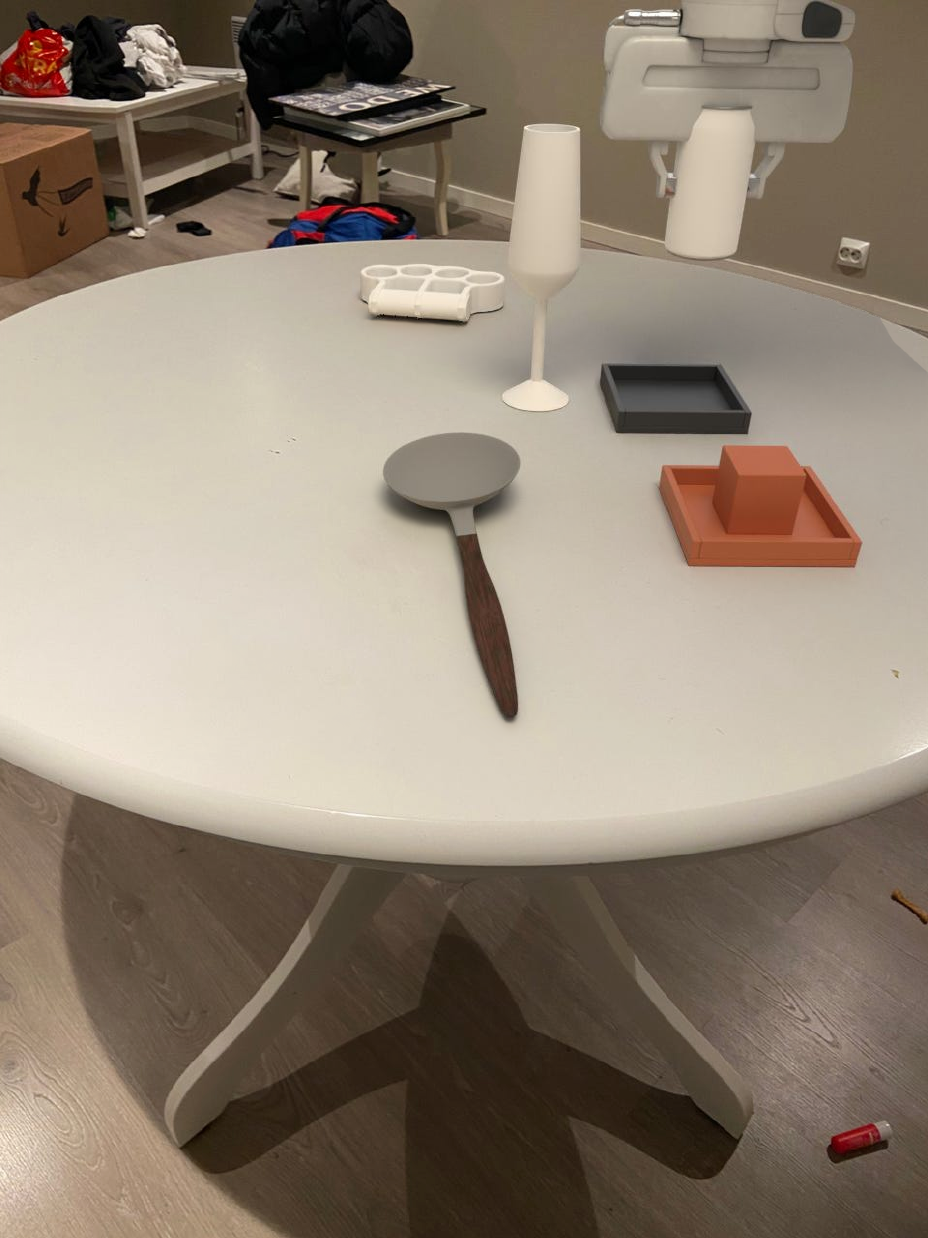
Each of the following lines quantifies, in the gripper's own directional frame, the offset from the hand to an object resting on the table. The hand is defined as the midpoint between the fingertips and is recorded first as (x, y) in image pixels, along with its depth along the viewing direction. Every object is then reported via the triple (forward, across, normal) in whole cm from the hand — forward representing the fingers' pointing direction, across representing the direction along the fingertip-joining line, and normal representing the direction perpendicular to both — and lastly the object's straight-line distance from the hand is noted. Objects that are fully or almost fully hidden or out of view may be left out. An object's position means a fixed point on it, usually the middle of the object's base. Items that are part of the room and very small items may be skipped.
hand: (708, 197), depth 84 cm
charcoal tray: (+19, -1, -2) cm, 19 cm away
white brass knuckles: (+19, -25, +29) cm, 43 cm away
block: (+18, +1, -25) cm, 31 cm away
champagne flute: (+19, -14, 0) cm, 24 cm away
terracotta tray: (+19, +1, -25) cm, 31 cm away
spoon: (+19, -21, -32) cm, 43 cm away
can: (+5, 0, 0) cm, 5 cm away
